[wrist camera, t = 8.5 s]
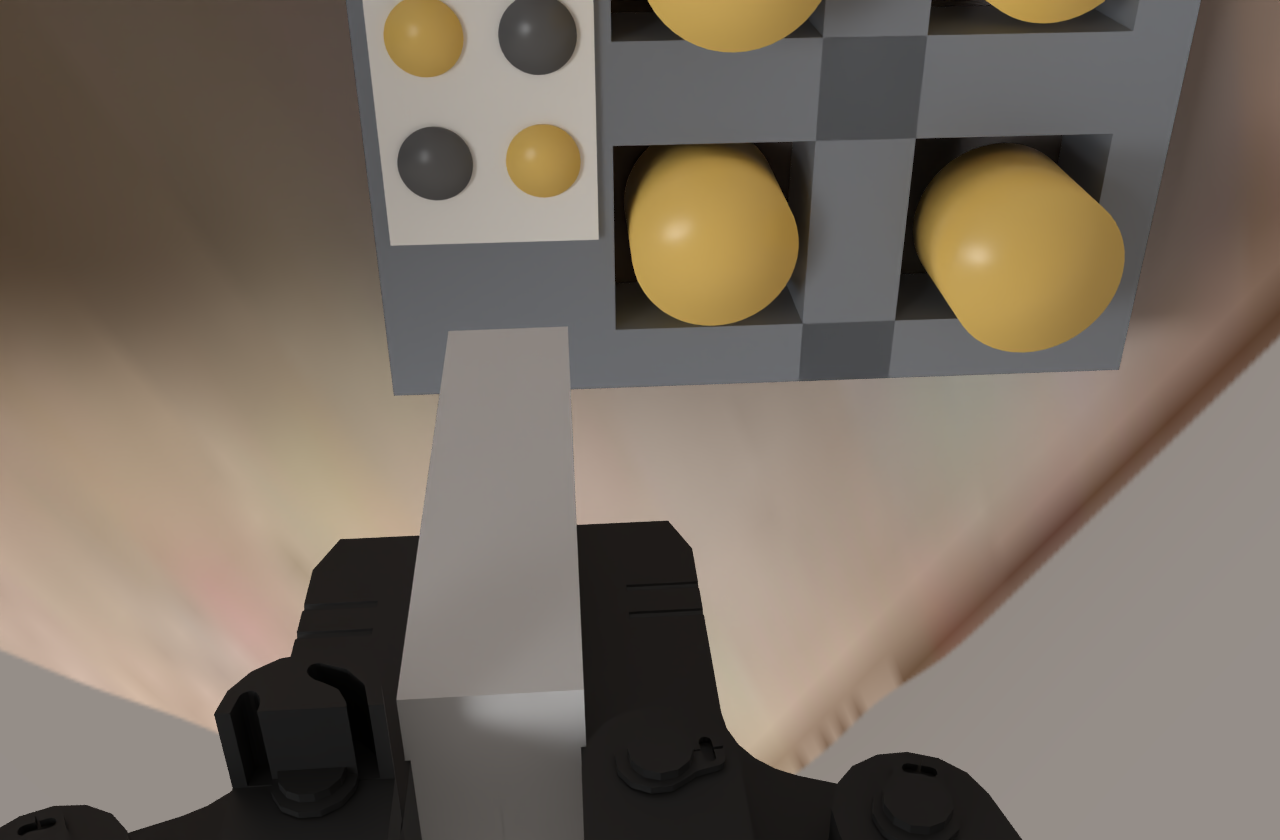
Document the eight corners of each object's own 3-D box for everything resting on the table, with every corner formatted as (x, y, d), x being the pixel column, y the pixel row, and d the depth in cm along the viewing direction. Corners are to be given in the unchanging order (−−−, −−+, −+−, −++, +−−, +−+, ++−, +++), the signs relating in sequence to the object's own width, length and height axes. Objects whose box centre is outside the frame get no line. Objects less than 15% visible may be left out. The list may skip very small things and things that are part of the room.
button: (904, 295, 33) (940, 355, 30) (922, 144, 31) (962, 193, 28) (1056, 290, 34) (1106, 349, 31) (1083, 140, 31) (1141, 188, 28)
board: (404, 344, 36) (392, 401, 33) (332, -293, 27) (307, -292, 25) (1078, 322, 37) (1123, 375, 34) (1201, -297, 29) (1274, -296, 26)
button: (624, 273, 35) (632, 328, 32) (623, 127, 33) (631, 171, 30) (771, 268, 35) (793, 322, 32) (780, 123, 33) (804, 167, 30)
